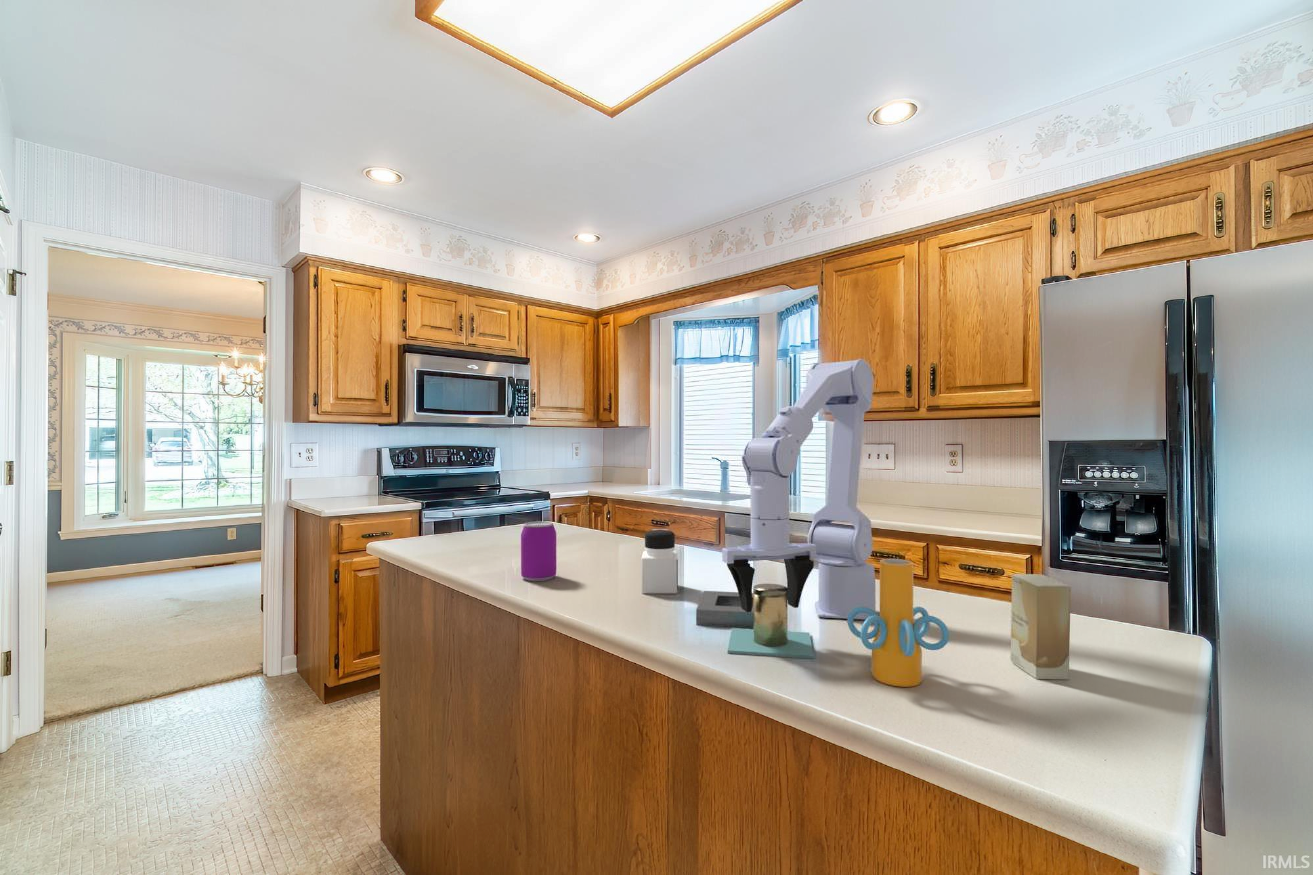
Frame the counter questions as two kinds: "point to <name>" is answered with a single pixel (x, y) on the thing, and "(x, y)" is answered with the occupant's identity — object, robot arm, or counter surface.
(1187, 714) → the counter surface
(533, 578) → the beverage can
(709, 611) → the housing
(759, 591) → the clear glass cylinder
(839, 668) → the counter surface
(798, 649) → the mat
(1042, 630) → the skincare box
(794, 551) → the robot arm
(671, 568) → the medicine bottle
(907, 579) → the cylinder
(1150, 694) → the counter surface
